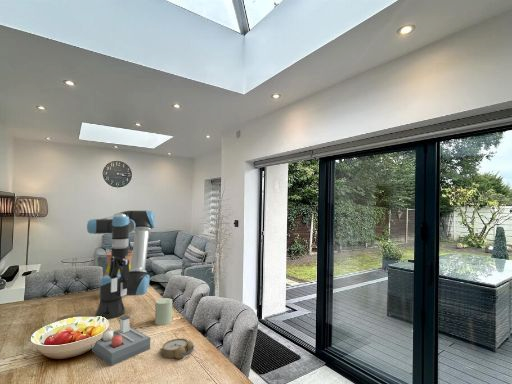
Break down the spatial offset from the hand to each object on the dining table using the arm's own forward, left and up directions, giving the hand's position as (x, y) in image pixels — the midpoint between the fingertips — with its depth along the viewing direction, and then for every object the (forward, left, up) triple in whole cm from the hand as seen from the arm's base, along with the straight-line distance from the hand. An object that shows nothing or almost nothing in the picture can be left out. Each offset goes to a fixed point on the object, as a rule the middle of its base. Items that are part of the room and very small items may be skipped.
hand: (118, 293), depth 135 cm
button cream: (+8, -8, -17) cm, 21 cm away
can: (+1, +25, -22) cm, 33 cm away
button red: (+16, -8, -17) cm, 25 cm away
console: (+12, -4, -21) cm, 25 cm away
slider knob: (+7, 0, -16) cm, 18 cm away
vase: (-66, +33, -22) cm, 77 cm away
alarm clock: (+34, +10, -22) cm, 42 cm away
